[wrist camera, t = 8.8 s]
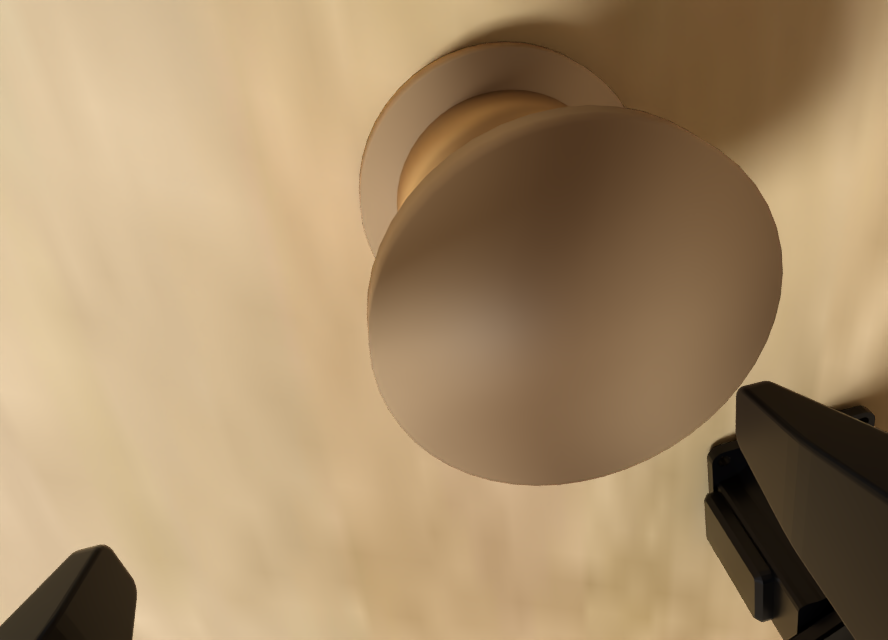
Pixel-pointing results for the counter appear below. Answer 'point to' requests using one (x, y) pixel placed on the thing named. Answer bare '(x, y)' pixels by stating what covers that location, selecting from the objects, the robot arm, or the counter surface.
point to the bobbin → (555, 269)
